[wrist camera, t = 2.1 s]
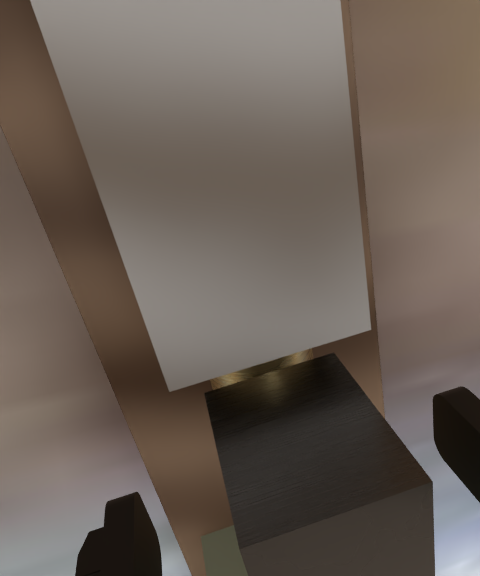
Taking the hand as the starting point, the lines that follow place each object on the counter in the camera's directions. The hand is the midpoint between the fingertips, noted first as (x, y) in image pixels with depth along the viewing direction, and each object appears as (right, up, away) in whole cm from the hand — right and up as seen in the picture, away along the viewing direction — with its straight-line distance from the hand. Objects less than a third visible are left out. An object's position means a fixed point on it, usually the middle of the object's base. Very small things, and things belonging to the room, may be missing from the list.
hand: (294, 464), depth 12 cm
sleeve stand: (-1, +3, +6) cm, 7 cm away
